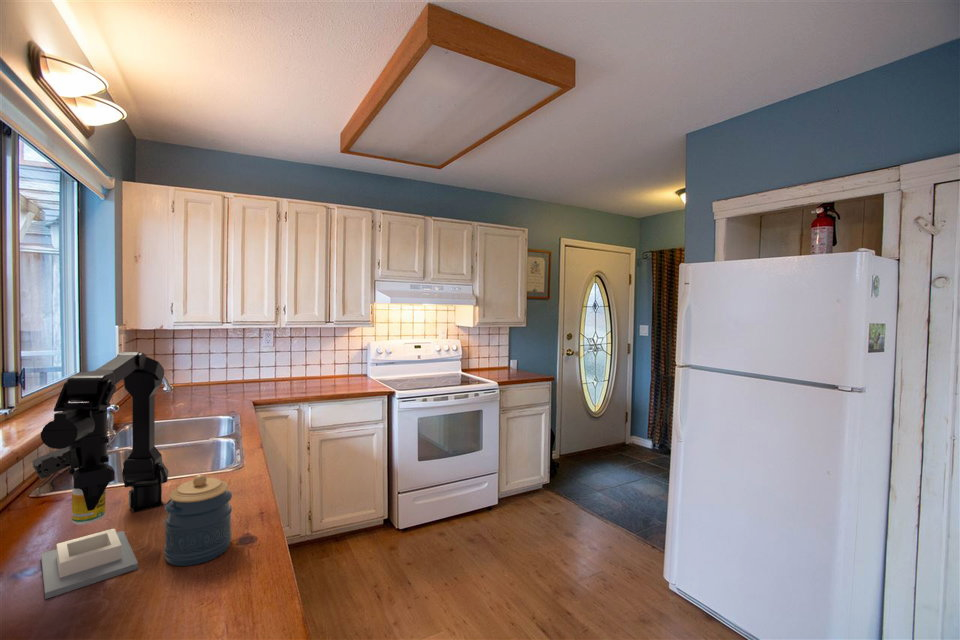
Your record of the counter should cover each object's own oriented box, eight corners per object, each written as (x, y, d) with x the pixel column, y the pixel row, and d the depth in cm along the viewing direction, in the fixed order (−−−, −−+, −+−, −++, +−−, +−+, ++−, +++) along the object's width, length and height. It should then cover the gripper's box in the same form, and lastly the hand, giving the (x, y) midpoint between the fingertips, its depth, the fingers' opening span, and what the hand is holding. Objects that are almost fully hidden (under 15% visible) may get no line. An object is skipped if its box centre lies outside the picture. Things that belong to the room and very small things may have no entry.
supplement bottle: (77, 515, 95) (77, 472, 95) (108, 511, 97) (109, 468, 97) (67, 527, 90) (67, 481, 90) (100, 522, 93) (100, 478, 92)
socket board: (123, 535, 105) (123, 518, 105) (137, 568, 93) (138, 549, 93) (41, 558, 95) (41, 539, 95) (45, 599, 83) (45, 577, 83)
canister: (222, 530, 110) (223, 460, 109) (238, 552, 100) (240, 476, 100) (159, 549, 101) (159, 473, 100) (170, 575, 91) (171, 492, 91)
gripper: (34, 430, 94) (34, 502, 94) (37, 453, 81) (37, 536, 82) (102, 421, 102) (102, 487, 102) (115, 441, 89) (114, 516, 90)
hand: (89, 505), depth 94 cm, fingers closed on supplement bottle, 5 cm apart
